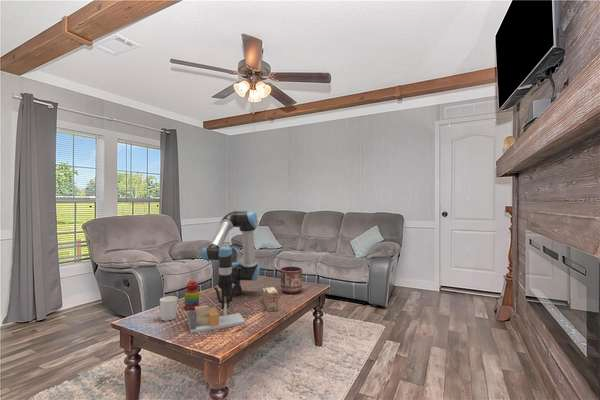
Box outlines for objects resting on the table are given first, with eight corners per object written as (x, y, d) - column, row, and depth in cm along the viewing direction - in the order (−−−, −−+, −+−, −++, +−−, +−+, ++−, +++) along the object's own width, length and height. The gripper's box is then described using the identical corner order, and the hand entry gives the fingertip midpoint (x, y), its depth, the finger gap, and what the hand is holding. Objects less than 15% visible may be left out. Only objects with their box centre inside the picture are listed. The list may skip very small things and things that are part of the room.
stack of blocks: (262, 301, 214) (262, 284, 214) (270, 300, 216) (271, 283, 216) (268, 312, 194) (268, 292, 194) (278, 311, 196) (278, 292, 196)
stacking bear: (202, 308, 199) (202, 281, 199) (185, 311, 194) (186, 283, 194) (198, 303, 208) (198, 277, 208) (182, 306, 203) (183, 279, 203)
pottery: (275, 292, 234) (275, 269, 234) (287, 287, 249) (288, 265, 249) (294, 296, 225) (294, 272, 225) (306, 290, 240) (306, 268, 240)
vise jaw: (206, 318, 178) (206, 308, 178) (215, 317, 180) (215, 307, 180) (209, 326, 167) (210, 315, 167) (219, 324, 169) (219, 314, 169)
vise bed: (188, 323, 174) (188, 310, 175) (239, 315, 187) (239, 303, 187) (190, 333, 162) (190, 319, 162) (245, 323, 175) (245, 310, 175)
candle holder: (163, 315, 186) (163, 296, 186) (179, 315, 187) (179, 295, 187) (156, 322, 177) (157, 301, 177) (174, 321, 177) (174, 301, 178)
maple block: (194, 322, 172) (195, 307, 172) (207, 320, 175) (207, 305, 175) (195, 326, 167) (196, 310, 167) (208, 324, 170) (209, 308, 170)
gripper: (214, 276, 171) (214, 318, 171) (237, 274, 176) (237, 314, 176) (212, 273, 177) (212, 313, 177) (234, 271, 183) (234, 310, 183)
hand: (225, 314), depth 177 cm, fingers closed
